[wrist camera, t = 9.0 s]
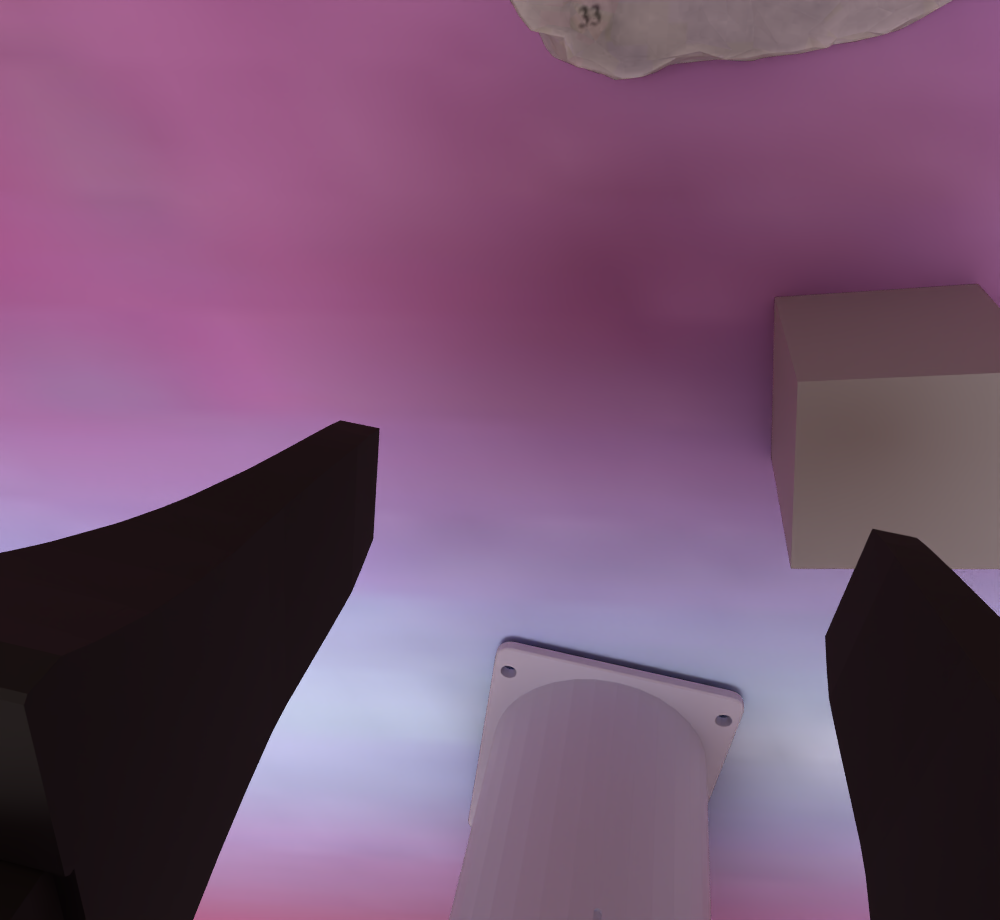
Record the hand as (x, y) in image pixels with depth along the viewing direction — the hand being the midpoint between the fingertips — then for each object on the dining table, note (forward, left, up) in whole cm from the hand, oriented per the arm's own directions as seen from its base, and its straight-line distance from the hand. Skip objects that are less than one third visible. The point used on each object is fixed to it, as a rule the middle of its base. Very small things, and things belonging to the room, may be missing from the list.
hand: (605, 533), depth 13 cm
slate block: (-1, -6, -10) cm, 12 cm away
